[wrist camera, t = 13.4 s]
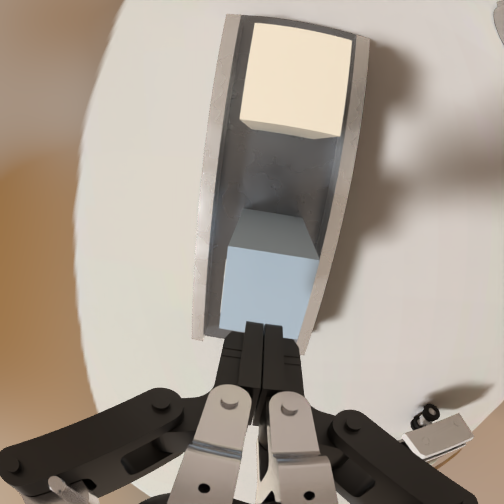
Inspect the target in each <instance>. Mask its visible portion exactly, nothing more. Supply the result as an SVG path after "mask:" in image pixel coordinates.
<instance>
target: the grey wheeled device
mask: <svg viewBox="0 0 504 504" xmlns="http://www.w3.org/2000/svg"><path fill="white" fill-rule="evenodd" d="M439 417H440V413H439V410H438V408H437V407H435V406H434V405H432V404H427V405H426V406H424V410H423V412H422V415H421V416H418V417H415V418H414V419H413V420H412V421H411V428H412V429H413V431H410V432H407V433H405V434H403V435H402V436H401V437H402V438H403V439H402V440H398V441H399V442H400V443H401V444H403V445H404V446H405V447H407V448H408V449H409V450H411V451H412V452H413V453H415V454H416V455H417V456H419V457H420V458H421V459H423V460H424V461H425V462H426V461H429V460H432V459H434V458H437V457H440V456H442V455H445V454H447V453H449V452H452V451H454V450H456V449H459V448H461V447H463V446H465V445H466V443H465V442H468V441H470V440H472V439H473V437H474V435H473V434H472V432H471V430H470V429H469V427H468V426H467V424H466V423H465V421H464V420H463V418H462V417H461V415H460V414H459V413H458V414H455V415H453V416H451V417H448V418H446V419H443V420H441V421H438V422H436V423H433V424H432V422H433V421H435V420H437V419H438V418H439Z"/></svg>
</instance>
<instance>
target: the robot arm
mask: <svg viewBox="0 0 504 504" xmlns="http://www.w3.org/2000/svg"><path fill="white" fill-rule="evenodd" d="M497 4H498V7H497V8H496V9H495V11H494V21H495V25H496V28H497V31H498V33H499V36H500V38H501V40H502V42H503V44H504V0H501V1H498V2H497ZM252 419H253V426H259V435H258V438H257V441H256V454H257V490H256V498H255V504H338V499H337V494H336V491H337V492H338V493H339V494H340V495H341V496H342V497H343V498H345V499H346V500H347V501H348V502H349V503H350V504H478V502H477V499H476V497H475V496H474V495H473V494H472V493H470V492H469V491H467V490H466V489H464V488H463V487H461V486H460V485H458V484H457V483H455V482H454V481H452V480H451V479H449V478H448V477H447V476H445V475H444V474H442V473H441V472H439V471H438V470H437V469H435V468H434V467H432V466H431V465H430V464H428V463H427V462H425V461H424V460H423V459H421V458H420V457H419V456H417V455H416V454H415V453H413V452H412V451H411V450H409V449H408V448H407V447H405V446H404V445H403V444H401V443H400V442H399V441H397V440H396V439H395V438H393V437H392V436H391V435H390V434H388V433H387V432H386V431H384V430H383V429H382V428H381V427H379V426H378V425H377V424H376V423H374V422H373V421H372V420H371V419H369V418H368V417H367V416H366V415H364V414H363V413H361V412H359V411H356V410H344V411H341V412H340V413H338V414H337V415H336V416H334V415H331V414H327V413H324V412H321V411H318V410H316V409H315V408H313V407H312V406H311V405H310V404H309V402H308V400H307V399H306V398H305V396H304V389H303V379H302V370H301V360H300V351H299V347H298V345H297V344H296V342H295V341H294V339H288V338H283V327H282V326H280V325H272V324H264V323H257V322H250V321H246V326H245V332H244V333H242V332H235V331H231V332H230V333H229V334H228V335H227V336H226V337H225V340H224V344H223V349H222V353H221V358H220V362H219V367H218V371H217V376H216V380H215V384H214V387H213V388H212V390H211V391H210V392H208V393H207V394H205V395H203V396H200V397H195V398H181V397H180V396H179V395H178V394H177V393H176V392H174V391H172V390H170V389H167V388H154V389H151V390H148V391H146V392H144V393H142V394H140V395H138V396H136V397H134V398H132V399H129V400H127V401H125V402H123V403H121V404H119V405H116V406H114V407H112V408H110V409H107V410H105V411H103V412H101V413H98V414H96V415H94V416H91V417H89V418H87V419H84V420H82V421H79V422H77V423H74V424H72V425H69V426H67V427H64V428H61V429H59V430H56V431H54V432H51V433H48V434H45V435H43V436H40V437H37V438H34V439H31V440H28V441H25V442H22V443H19V444H16V445H12V446H9V447H6V448H4V449H3V450H1V451H0V476H1V477H2V479H3V480H4V481H5V482H7V483H8V484H9V485H11V486H12V487H13V488H15V489H16V490H17V491H18V492H19V493H20V494H21V496H22V498H23V500H24V502H25V504H100V503H99V500H98V498H99V497H101V496H104V495H106V494H108V493H110V492H112V491H115V490H117V489H119V488H121V487H123V486H125V485H127V484H129V483H131V482H133V481H135V480H137V479H139V478H141V477H143V476H145V475H147V474H148V473H150V472H152V471H154V470H156V469H157V468H159V467H161V466H163V465H164V464H166V463H168V462H169V461H171V460H173V459H174V458H176V457H178V456H179V455H181V454H182V453H183V452H185V454H184V457H183V460H182V462H181V465H180V468H179V471H178V474H177V477H176V479H175V482H174V485H173V488H172V491H171V493H167V494H162V495H158V496H154V497H151V498H149V499H147V500H145V501H143V502H141V503H139V504H249V503H246V502H242V501H239V500H236V499H233V497H234V492H235V488H236V483H237V478H238V473H239V469H240V464H241V458H242V450H243V445H244V440H245V436H246V432H247V428H248V425H251V422H252Z"/></svg>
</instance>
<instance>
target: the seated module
mask: <svg viewBox="0 0 504 504" xmlns="http://www.w3.org/2000/svg"><path fill="white" fill-rule="evenodd" d="M351 46H352V40H349V39H345V38H341V37H337V36H333V35H329V34H325V33H320V32H315V31H310V30H305V29H299V28H293V27H287V26H280V25H272V24H263V23H255V25H254V31H253V36H252V40H251V46H250V52H249V58H248V64H247V70H246V77H245V83H244V89H243V96H242V105H241V112H240V120H241V121H242V122H243V123H245V124H246V125H247V126H248V127H249V128H251V129H254V130H261V131H268V132H275V133H281V134H288V135H293V136H299V137H304V138H310V139H320V138H330V137H340V135H341V128H342V122H343V115H344V108H345V100H346V93H347V85H348V76H349V67H350V57H351Z"/></svg>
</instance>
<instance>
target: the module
mask: <svg viewBox="0 0 504 504" xmlns="http://www.w3.org/2000/svg"><path fill="white" fill-rule="evenodd" d="M319 261H320V260H319V257H318V255H317V252H316V249H315V247H314V245H313V242H312V240H311V237H310V235H309V232H308V230H307V227H306V225H305V223H304V220H303V218H300V217H294V216H288V215H282V214H276V213H270V212H264V211H258V210H251V209H245V208H243V211H242V213H241V215H240V218H239V220H238V223H237V225H236V228H235V230H234V233H233V235H232V238H231V240H230V243H229V245H228V251H227V259H226V265H225V274H224V283H223V292H222V301H221V311H220V312H221V314H220V324H219V328H221V329H227V330H233V331H239V332H245V326H246V321H250V322H257V323H264V324H272V325H280V326H282V327H283V338H289V339H298V336H299V333H300V330H301V326H302V323H303V320H304V316H305V313H306V309H307V306H308V302H309V299H310V295H311V292H312V288H313V284H314V281H315V277H316V273H317V269H318V265H319Z"/></svg>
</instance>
